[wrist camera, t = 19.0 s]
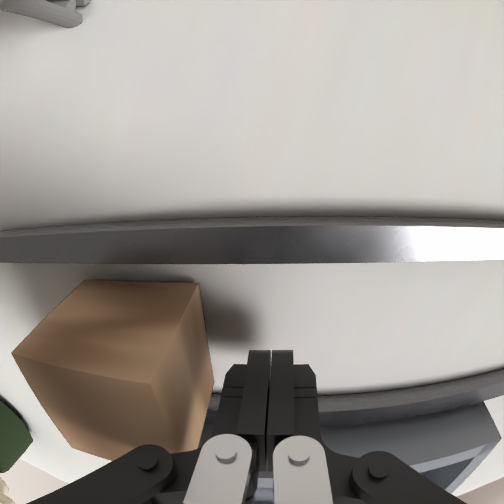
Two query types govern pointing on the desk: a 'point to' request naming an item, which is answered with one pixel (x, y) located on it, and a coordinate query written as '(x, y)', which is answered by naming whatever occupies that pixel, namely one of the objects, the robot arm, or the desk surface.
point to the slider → (122, 366)
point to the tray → (410, 444)
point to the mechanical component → (47, 10)
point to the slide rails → (286, 252)
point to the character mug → (11, 445)
